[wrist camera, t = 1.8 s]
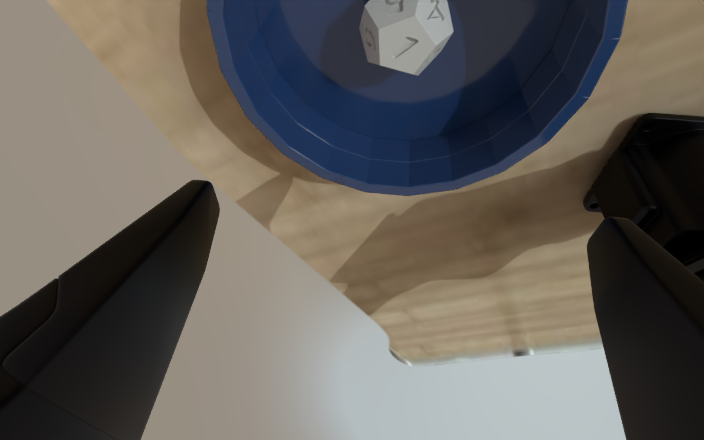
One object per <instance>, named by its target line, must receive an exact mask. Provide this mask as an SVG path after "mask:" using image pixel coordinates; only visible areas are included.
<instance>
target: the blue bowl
mask: <svg viewBox="0 0 704 440" xmlns="http://www.w3.org/2000/svg"><path fill="white" fill-rule="evenodd" d="M368 1H369V0H207V5H206V8H207V15H208V19H209V23H210V28H211V32H212V36H213V40H214V44H215V49H216V53H217V57H218V61H219V65H220V69H221V72H222V74H223V76H224V78H225V79H226V81H227V83H228V85H229V86H230V88H231V90H232V92H233V94H234V95H235V97H236V99H237V101H238V102H239V104H240V106H241V108H242V110H243V111H244V113H245V115H246V117H247V118H248V119H249V120H250V121H251V122H252V123H253V124H254V125H255V126H256V127H257V128H258V129H259V130H260V132H261V133H262V134H263V135H264V136H265V137H266V138H267V139H268V140H269V141H270V142H271V143H272V144H273V145H274V146H275V147H276V148H277V149H278V150H279V151H280V152H281V153H283V155H285V156H287V157H288V158H290V159H292V160H293V161H295V162H296V163H298V164H300V165H301V166H303V167H305V168H306V169H308V170H309V171H311V172H313V173H314V174H316V175H318V176H319V177H322V178H323V179H326V180H329V181H333V182H336V183H339V184H342V185H345V186H348V187H351V188H354V189H357V190H360V191H365V192H369V193H380V194H391V195H403V196H409V195H410V196H412V195H420V194H427V193H434V192H442V191H449V190H455V189H459V188H462V187H464V186H467V185H470V184H472V183H475V182H478V181H481V180H483V179H486V178H489V177H491V176H494V175H497V174H499V173H502V172H504V171H505V170H507V169H508V168H510V167H511V166H513V165H514V164H516V163H517V162H519V161H520V160H522V159H523V158H525V157H526V156H528V155H530V154H531V153H533V152H534V151H536V150H537V149H539V148H540V147H542V146H543V145H545V144H546V143H547V142H548V141H550V139H551V138H552V137H553V136H554V135H555V134H556V133H557V132H558V131H559V130H560V129H561V128H562V127H563V125H564V124H565V123H566V122H567V121H568V120H569V119H570V118H571V117H572V116H573V115H574V114H575V113H576V111H577V110H578V109H579V108H580V107H581V106H582V105H583V104H584V103H585V102H586V101H587V100H588V97H590V95H591V93H592V91H593V89H594V87H595V86H596V84H597V82H598V80H599V78H600V76H601V74H602V72H603V70H604V69H605V67H606V65H607V63H608V61H609V59H610V57H611V55H612V53H613V52H614V50H615V48H616V46H617V44H618V42H619V40H620V37H621V34H622V29H623V24H624V19H625V14H626V8H627V3H628V0H447V2H448V7H449V12H450V16H451V21H452V26H453V30H454V32H453V33H452V35H451V37H450V38H449V40H448V41H447V43H446V44H445V46H444V48H443V49H442V51H441V52H440V53H439V54H438V55H437V56H436V57H435V58H434V59H433V60H432V61H431V62H430V64H429V65H428V66H427V67H426V68H425V69H424V70H423V71H422V72H421V73H420V74H419V75H418V76H417V75H413V74H410V73H406V72H403V71H399V70H395V69H392V68H388V67H384V66H381V65H377V64H374V63H370V62H368V60H367V56H366V53H365V49H364V45H363V41H362V37H361V34H360V30H359V26H360V22H361V18H362V14H363V10H364V6H365V5H366V4H367V3H368Z"/></svg>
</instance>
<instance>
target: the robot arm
mask: <svg viewBox="0 0 704 440" xmlns="http://www.w3.org/2000/svg"><path fill="white" fill-rule="evenodd" d="M650 122H652V123H651V124H650V125H648V126H645V125H646V124H648V123H650ZM592 203H593V204H592ZM583 204H584V207H585V209H586V210H587V211H591V212H602V214H603V216H604V218H605V219H604V220H603V221H602V223H601V224H600V225H599V227H598V228H597V229H596V231H595V232H594V233H593V235H592V236H591V237H590V239H589V241H588V244H587V253H588V262H589V270H590V279H591V287H592V296H593V303H594V309H595V314H596V318H597V322H598V326H599V330H600V334H601V339H602V343H603V347H604V350H605V355H606V359H607V363H608V367H609V371H610V375H611V379H612V383H613V387H614V391H615V395H616V399H617V403H618V407H619V412H620V415H621V420H622V424H623V427H624V432H625V436H626V440H704V117H699V116H686V115H673V114H660V113H648V114H645V115H643V116H641V117H639V118H638V119H637V121H636V122H635V123H634V125H633V126H632V128H631V129H630V131H629V132H628V134H627V135H626V137H625V139H624V140H623V142H622V143H621V145H620V146H619V148H618V149H617V151H616V152H615V153H614V154H613V155H612V156H611V158H610V159H609V161H608V163H607V164H606V166H605V167H604V169H603V170H602V172H601V173H600V175H599V176H598V178H597V179H596V181H595V182H594V184H593V185H592V188H591V190H590V191H589V193H588V194H587V196H586V197H585V199H584V201H583ZM219 212H220V208H219V203H218V200H217V197H216V194H215V191H214V188H213V186H212V184H211V183H210V182H209V181H203V180H192V181H190V182H188V183H187V184H186V185H184V186H183V187H182V188H180V189H179V190H177V191H176V192H175V193H173V194H172V195H170V196H169V197H168V198H166V199H165V200H163V201H162V202H161V203H160V204H158V205H157V206H155V207H154V208H152V209H151V210H150V211H148V212H147V213H145V214H144V215H143V216H141V217H140V218H139V219H137V220H136V221H134V222H133V223H132V224H130V225H129V226H127V227H126V228H125V229H123V230H122V231H121V232H119V233H118V234H116V235H115V236H114V237H112V238H111V239H110V240H108V241H107V242H105V243H104V244H103V245H101V246H100V247H99V248H97V249H96V250H94V251H93V252H91V253H90V254H89V255H87V256H86V257H85V258H83V259H82V260H80V261H79V262H78V263H76V264H75V265H73V266H72V267H71V268H69V269H68V270H67V271H65V272H64V273H62V274H61V275H60V276H59V278H58V279H54V280H53V281H51V282H50V283H48V284H47V285H46V286H44V287H43V288H41V289H40V290H39V291H37V292H36V293H34V294H33V295H32V296H30V297H29V298H27V299H26V300H24V301H23V302H21V303H20V304H19V305H17V306H16V307H14V308H13V309H11V310H10V311H8V312H7V313H5V314H4V315H2V316H0V440H141V437H142V435H143V432H144V429H145V426H146V424H147V421H148V419H149V416H150V414H151V411H152V408H153V406H154V403H155V401H156V398H157V395H158V393H159V390H160V387H161V385H162V382H163V380H164V377H165V374H166V372H167V369H168V366H169V364H170V361H171V359H172V355H173V353H174V351H175V348H176V345H177V343H178V340H179V338H180V335H181V332H182V330H183V327H184V324H185V322H186V319H187V317H188V314H189V311H190V309H191V306H192V304H193V301H194V298H195V295H196V293H197V290H198V288H199V285H200V283H201V280H202V277H203V274H204V272H205V269H206V265H207V261H208V257H209V253H210V249H211V245H212V241H213V237H214V233H215V229H216V225H217V221H218V217H219Z"/></svg>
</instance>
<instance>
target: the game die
mask: <svg viewBox="0 0 704 440" xmlns="http://www.w3.org/2000/svg"><path fill="white" fill-rule="evenodd" d="M359 30H360V34H361V37H362V41H363V45H364V49H365V53H366V56H367V60H368V62H370V63H374V64H377V65H381V66H384V67H388V68H392V69H395V70H399V71H403V72H406V73H410V74H413V75H417V76H418V75H419V74H420V73H421V72H422V71H423V70H424V69H425V68H426V67H427V66H428V65H429V64H430V62H431V61H432V60H433V59H434V58H435V57H436V56H437V55H438V54H439V53H440V52H441V51H442V49H443V48H444V46H445V44H446V43H447V41H448V40H449V38H450V37H451V35H452V33H453V32H454V30H453V26H452V21H451V16H450V12H449V7H448V2H447V0H369V1H368V3H367V4H366V5H365V6H364V10H363V14H362V18H361V22H360V26H359Z"/></svg>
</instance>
